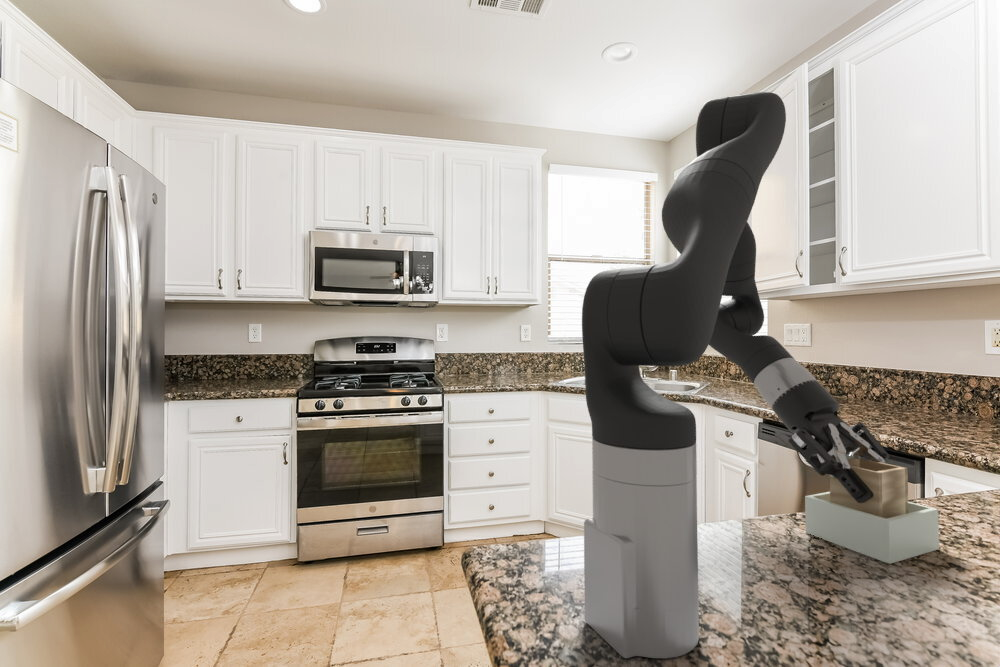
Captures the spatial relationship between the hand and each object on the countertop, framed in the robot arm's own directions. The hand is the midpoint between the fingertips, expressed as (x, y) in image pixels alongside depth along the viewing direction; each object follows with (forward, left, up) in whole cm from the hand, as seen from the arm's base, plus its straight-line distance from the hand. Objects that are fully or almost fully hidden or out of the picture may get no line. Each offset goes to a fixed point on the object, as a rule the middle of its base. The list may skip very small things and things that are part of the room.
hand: (882, 496), depth 62 cm
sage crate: (0, +2, -6) cm, 6 cm away
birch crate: (0, +2, -4) cm, 5 cm away
